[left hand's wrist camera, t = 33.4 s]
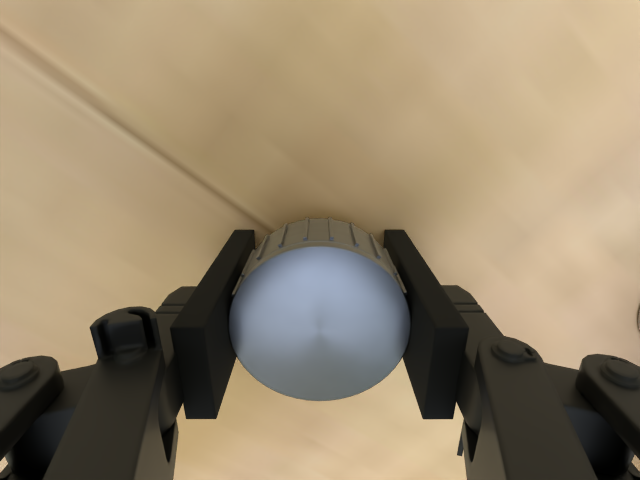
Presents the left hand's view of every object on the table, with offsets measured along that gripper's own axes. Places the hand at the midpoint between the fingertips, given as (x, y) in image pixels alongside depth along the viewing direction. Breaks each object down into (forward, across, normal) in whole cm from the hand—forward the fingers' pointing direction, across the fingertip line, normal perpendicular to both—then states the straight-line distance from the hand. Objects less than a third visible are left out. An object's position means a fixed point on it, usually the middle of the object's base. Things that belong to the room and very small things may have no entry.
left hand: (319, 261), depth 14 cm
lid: (-4, 0, 0) cm, 4 cm away
